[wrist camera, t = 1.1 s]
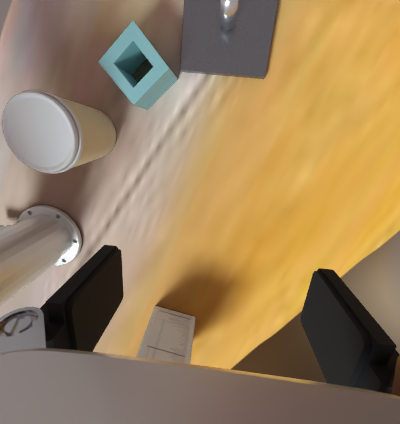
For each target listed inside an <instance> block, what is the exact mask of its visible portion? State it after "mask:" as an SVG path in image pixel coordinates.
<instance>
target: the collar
mask: <svg viewBox="0 0 400 424" xmlns="http://www.w3.org/2000/svg"><path fill="white" fill-rule="evenodd" d="M146 59H148V60H149V62H150V63H151V64H152V66H153V68H152V69H151V70H150V71H149V72H148V73H147V74H146V75H145V76H144V77H143V78H142V79H141V80H140V82H139V83H138V82H137V81H136V80H135V79H134V77H133V76H132V74H133V73H134V72H135V71H136V70H137V68H138V67H139V66H140V65H141V64H142V63H143V62H144V61H145V60H146ZM98 62H99V64H100V65H101V66H102V67H103V69H104V70H105V71H106V72H107V73H108V75H109V76H110V77H111V78H112V79H113V81H114V82H115V83H116V84H117V86H118V87H119V88H120V89H121V90H122V92H123V93H124V94H125V95H126V97H127V98H128V99H129V100H130V101H131V103H132V104H133V105H135V106H138V107H141V108H144V109H149V108H150V107H151V106H152V105H153V104H154V103H155V102H156V101H157V100H158V99H159V98H160V97H161V96H162V95H163V94H164V93H165V92H166V91H167V90H168V89H169V88H170V87H171V86H172V85H173V84H174V83H175V82H176V81H177V80H178V79H177V77H176V76H175V75H174V73H173V72H172V71H171V69H170V68H169V67H168V65H167V64H166V63H165V61H164V60H163V59H162V57H161V56H160V55H159V53H158V52H157V51H156V49H155V48H154V47H153V45H152V44H151V43H150V41H149V40H148V39H147V37H146V36H145V35H144V34H143V32H142V31H141V30H140V29H139V27H138V26H137V25H136V23H135V22H134V21H132V22H131V23H130V24H129V26H128V27H127V28H126V29H125V30H124V32H123V33H122V34H121V35H120V36H119V38H118V39H117V40H116V41H115V42H114V44H113V45H112V46H111V47H110V48H109V49H108V51H107V52H106V53H105V54H104V55H103V57H102V58H101V59H100V60H99V61H98Z"/></svg>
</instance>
